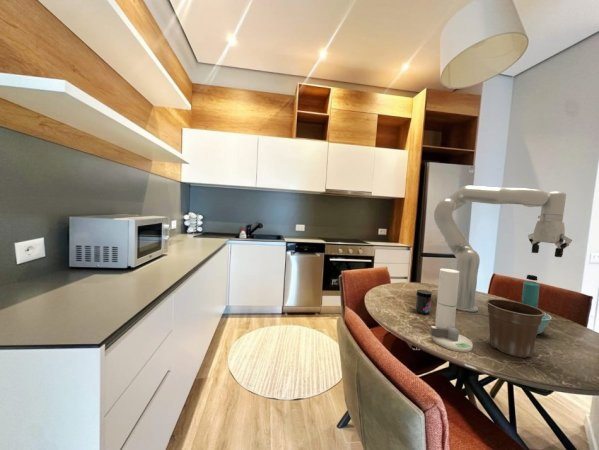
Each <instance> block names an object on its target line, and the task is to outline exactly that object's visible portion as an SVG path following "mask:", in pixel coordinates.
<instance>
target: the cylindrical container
mask: <svg viewBox="0 0 599 450" xmlns="http://www.w3.org/2000/svg"><path fill="white" fill-rule="evenodd" d="M458 282H459V271H457V270H456V269H452V268H451V269H450V268H440V269H439V276H438V285H437V287H438V288H437V297H436V298H437V299H436V311H435V323H434V326H435V327H439V328H447V327H448V326H450V327H455V326H456V317H457V316H456V315H457V309H456V305H457V294H458ZM455 328H456V327H455Z"/></svg>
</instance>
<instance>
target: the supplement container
mask: <svg viewBox="0 0 599 450" xmlns="http://www.w3.org/2000/svg"><path fill="white" fill-rule="evenodd" d="M415 293H416V296H415V308H414V310H415V312H416V313H418V314H419V315H423V316H428V315H430V314H431V305H432V296H433V294H432V291H429V290H427V289H416V292H415Z"/></svg>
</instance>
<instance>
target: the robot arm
mask: <svg viewBox="0 0 599 450" xmlns="http://www.w3.org/2000/svg"><path fill="white" fill-rule="evenodd" d="M566 199H567V194H566V193H565V192H564V191H544V190H542V189H537V188H536V189H534V188H524V187H523V188H522V187H503V186H501V187H500V186H498V187H497V186H487V185H486V186H484V185H471V184H470V185H463V186H462V187H461V188H459V189H458V190H456V191H455V192H454V193H452V194H450V195H449V196H447V197H446V198H445V197H444V198H442V199H441V200H440V201H439V202H438V204H437V205H436V207H435V209H434V212H433V219H434V222H435V225H436V227H437V228H438V229H439V232H440V233H441V236H443V238H444V240H445V242H446V244H447V246H448V247H449V249H450V250H451V252H452V254H453V255H454V257H455V258H456V259H457V261H456V267H455V270H457V271H459V282H458V294H457V305H456V310H459V311H463V312H469V313H476V312H478V311H479V308H478V306H476V298H477V297H476V294H477V284H478V275H479V273H478V272H479V268H480V261H481V259H480V255H479V254H478V252H477V251H476V250H474V248H473V247H472V246H471V244H470V243H469V241H468V240H467V237H466V234H464V233H463V231H462V230H461V228H460V227H459V226H458V224H457V223H456V221H455V219H454V218H453V213H454V212H455V211H456V210H458V209H460V208H461V207H463V206H465V205H467V204H468V203H469V202H470V203H480V204H489V205H507V204H509V205H522V206H524V207H528V208H535V207H536V208H537V207H540V208H541V210H540V215H538V216H537V218H538V219H539V220H537V222H536V223H535V226H534V230H533V233H529V234H528V235H527V237H528V240H529V242H530V244H531V245H532V246H531V253H532V254H538V253H539V251H540V245H539V244H540V243H546V244H554V245H555V246H556V248H555V252H554V257H555V258H562V257H563V254H564V249H566V248H567V247H569V246H570V244H571V243H572V241H573V239H572V238H569V237H568V236H566V234H565V232H566V231H565V230H566V227H565V222H564V215H565V214H564V213H565V207H566ZM564 241H565V242H564Z"/></svg>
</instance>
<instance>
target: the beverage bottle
mask: <svg viewBox="0 0 599 450" xmlns="http://www.w3.org/2000/svg"><path fill="white" fill-rule="evenodd" d="M537 281H538V276H537V275H532V274H527V275H526V281H524V282H522V283H523V286H522V295H521V303H523V304H526V305H530V306H533V307H535V308H538V309H539V298H540V295H539V294H540V287H541V286H540V284H539V283H538V282H537Z"/></svg>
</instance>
